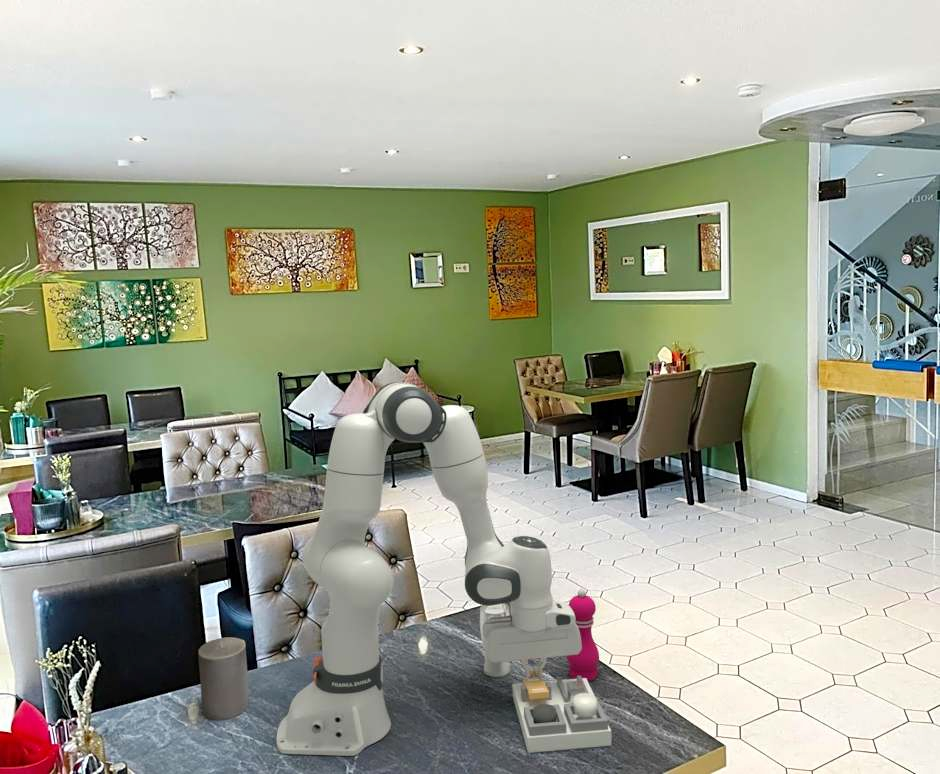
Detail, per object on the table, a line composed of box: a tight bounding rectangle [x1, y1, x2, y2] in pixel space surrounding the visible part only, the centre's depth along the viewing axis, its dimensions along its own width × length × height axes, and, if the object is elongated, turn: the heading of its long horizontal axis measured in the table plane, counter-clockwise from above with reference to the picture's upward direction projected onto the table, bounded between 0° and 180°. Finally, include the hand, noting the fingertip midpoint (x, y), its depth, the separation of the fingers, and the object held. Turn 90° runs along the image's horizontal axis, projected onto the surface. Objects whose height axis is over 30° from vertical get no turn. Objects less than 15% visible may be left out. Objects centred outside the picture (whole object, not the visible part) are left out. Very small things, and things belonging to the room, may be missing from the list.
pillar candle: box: [198, 636, 250, 721], centre depth 162 cm, size 10×10×15 cm
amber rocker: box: [522, 677, 549, 699], centre depth 156 cm, size 4×8×2 cm, turn 5°
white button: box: [574, 693, 598, 717], centre depth 147 cm, size 4×4×2 cm
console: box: [511, 676, 612, 754], centre depth 153 cm, size 16×20×6 cm
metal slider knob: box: [567, 681, 585, 703], centre depth 155 cm, size 3×3×3 cm
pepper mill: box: [566, 588, 600, 682], centre depth 170 cm, size 7×7×20 cm
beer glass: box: [479, 603, 511, 678], centre depth 174 cm, size 7×7×15 cm
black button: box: [533, 704, 556, 724], centre depth 147 cm, size 4×4×2 cm
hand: (534, 676), depth 160 cm, fingers closed, pressing on amber rocker
